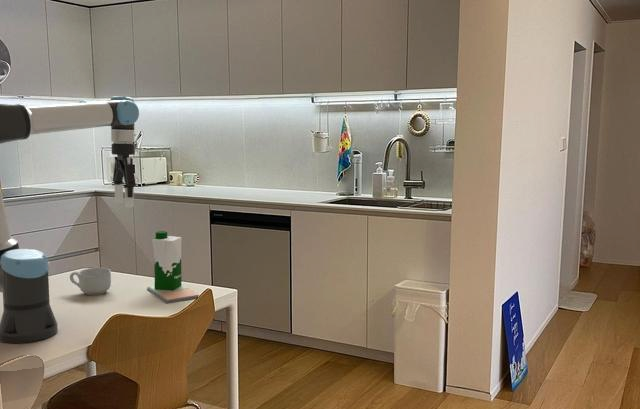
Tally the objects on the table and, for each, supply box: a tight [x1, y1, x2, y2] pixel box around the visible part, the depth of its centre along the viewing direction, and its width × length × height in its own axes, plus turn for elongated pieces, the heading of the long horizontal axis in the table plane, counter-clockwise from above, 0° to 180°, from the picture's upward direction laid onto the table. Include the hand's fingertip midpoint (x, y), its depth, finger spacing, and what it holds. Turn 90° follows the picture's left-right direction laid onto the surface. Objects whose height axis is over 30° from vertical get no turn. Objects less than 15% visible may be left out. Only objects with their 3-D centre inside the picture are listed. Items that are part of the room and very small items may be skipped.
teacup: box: [69, 267, 112, 296], centre depth 212 cm, size 14×11×8 cm
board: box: [146, 283, 200, 304], centre depth 212 cm, size 12×20×1 cm, turn 34°
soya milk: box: [151, 230, 183, 290], centre depth 215 cm, size 9×9×20 cm
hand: (124, 205), depth 207 cm, fingers open, 13 cm apart
